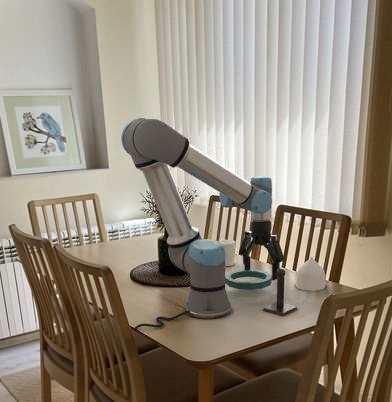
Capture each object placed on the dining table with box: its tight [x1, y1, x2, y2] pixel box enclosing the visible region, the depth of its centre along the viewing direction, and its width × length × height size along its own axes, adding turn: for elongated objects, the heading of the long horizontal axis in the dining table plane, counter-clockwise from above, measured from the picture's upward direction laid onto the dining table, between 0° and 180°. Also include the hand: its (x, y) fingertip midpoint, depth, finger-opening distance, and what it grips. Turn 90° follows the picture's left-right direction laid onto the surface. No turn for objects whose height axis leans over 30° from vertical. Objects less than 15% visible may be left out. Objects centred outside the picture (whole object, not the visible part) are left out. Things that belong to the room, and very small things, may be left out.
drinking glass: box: [217, 239, 236, 267], centre depth 236 cm, size 8×8×10 cm
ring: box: [225, 269, 273, 291], centre depth 201 cm, size 17×17×2 cm
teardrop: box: [295, 255, 326, 292], centre depth 205 cm, size 11×11×12 cm
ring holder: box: [262, 267, 298, 317], centre depth 181 cm, size 8×8×14 cm
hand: (260, 276), depth 206 cm, fingers closed on ring, 12 cm apart
